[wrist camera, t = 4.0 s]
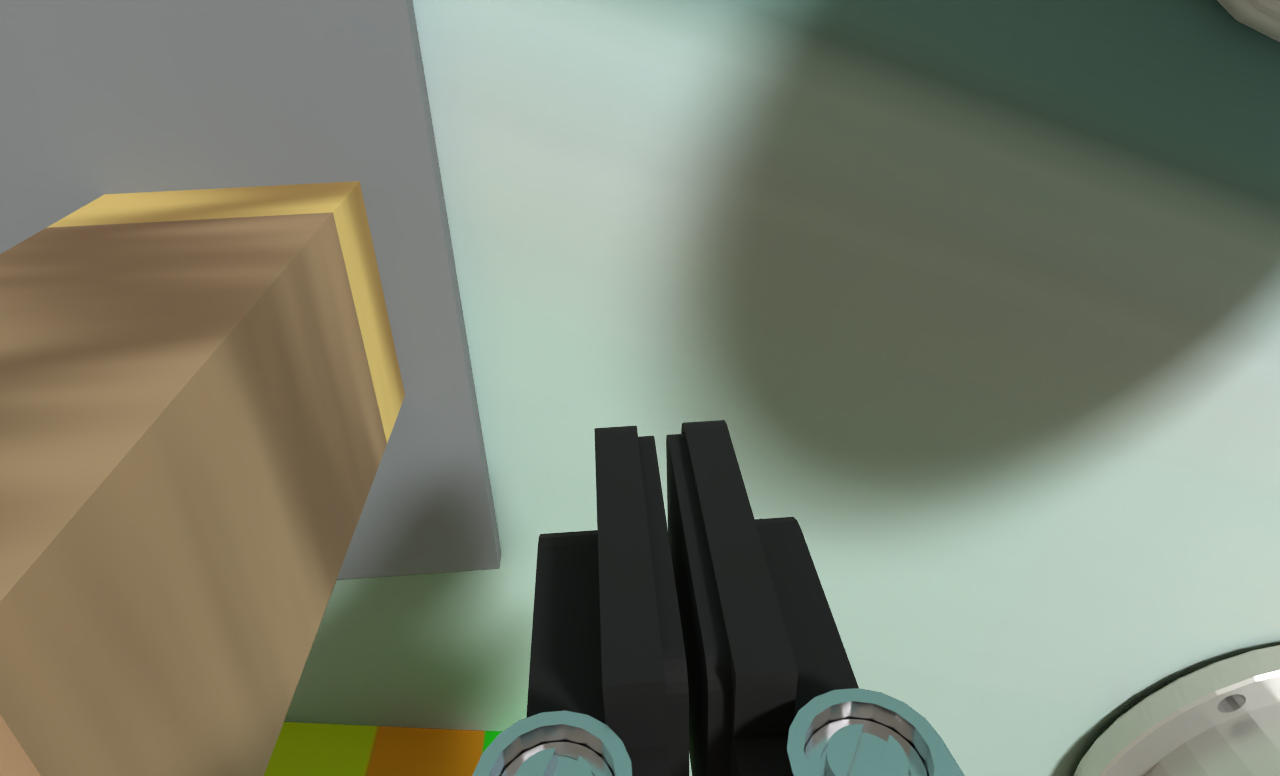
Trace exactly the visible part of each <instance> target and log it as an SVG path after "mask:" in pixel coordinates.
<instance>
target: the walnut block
mask: <svg viewBox="0 0 1280 776" xmlns="http://www.w3.org/2000/svg"><path fill="white" fill-rule="evenodd" d="M404 397H405V392H404V388H403V383H402V378H401V374H400V369H399V364H398V359H397V355H396V350H395V345H394V341H393V336H392V331H391V327H390V322H389V317H388V312H387V308H386V303H385V298H384V294H383V289H382V284H381V279H380V275H379V270H378V265H377V261H376V256H375V251H374V247H373V242H372V237H371V232H370V228H369V223H368V218H367V214H366V209H365V204H364V200H363V195H362V190H361V185H360V181H354V182H334V183H315V184H296V185H277V186H257V187H238V188H219V189H199V190H180V191H161V192H142V193H122V194H104V195H103V196H101V197H99V198H97V199H96V200H94V201H92V202H90V203H89V204H87V205H85V206H83V207H82V208H80V209H78V210H76V211H75V212H73V213H71V214H69V215H68V216H66V217H64V218H62V219H61V220H59V221H57V222H55V223H54V224H52V225H50V226H48V227H47V228H45V229H43V230H41V231H40V232H38V233H36V234H34V235H33V236H31V237H29V238H27V239H26V240H24V241H22V242H20V243H19V244H17V245H15V246H13V247H12V248H10V249H8V250H6V251H5V252H3V253H1V254H0V776H264V774H265V771H266V769H267V766H268V763H269V760H270V758H271V755H272V752H273V750H274V747H275V744H276V742H277V739H278V736H279V734H280V731H281V728H282V725H283V723H284V720H285V717H286V715H287V712H288V709H289V707H290V704H291V701H292V699H293V696H294V693H295V690H296V688H297V685H298V682H299V680H300V677H301V674H302V672H303V669H304V666H305V664H306V661H307V658H308V655H309V653H310V650H311V647H312V645H313V642H314V639H315V637H316V634H317V631H318V629H319V626H320V623H321V620H322V618H323V615H324V612H325V610H326V607H327V604H328V602H329V599H330V596H331V594H332V591H333V588H334V585H335V583H336V580H337V577H338V575H339V572H340V569H341V567H342V564H343V561H344V559H345V556H346V553H347V550H348V548H349V545H350V542H351V540H352V537H353V534H354V532H355V529H356V526H357V524H358V521H359V518H360V516H361V513H362V510H363V507H364V505H365V502H366V499H367V497H368V494H369V491H370V489H371V486H372V483H373V481H374V478H375V475H376V472H377V470H378V467H379V464H380V462H381V459H382V456H383V454H384V451H385V448H386V446H387V443H388V440H389V437H390V435H391V432H392V429H393V427H394V424H395V421H396V419H397V416H398V413H399V411H400V408H401V405H402V402H403V400H404Z"/></svg>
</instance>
